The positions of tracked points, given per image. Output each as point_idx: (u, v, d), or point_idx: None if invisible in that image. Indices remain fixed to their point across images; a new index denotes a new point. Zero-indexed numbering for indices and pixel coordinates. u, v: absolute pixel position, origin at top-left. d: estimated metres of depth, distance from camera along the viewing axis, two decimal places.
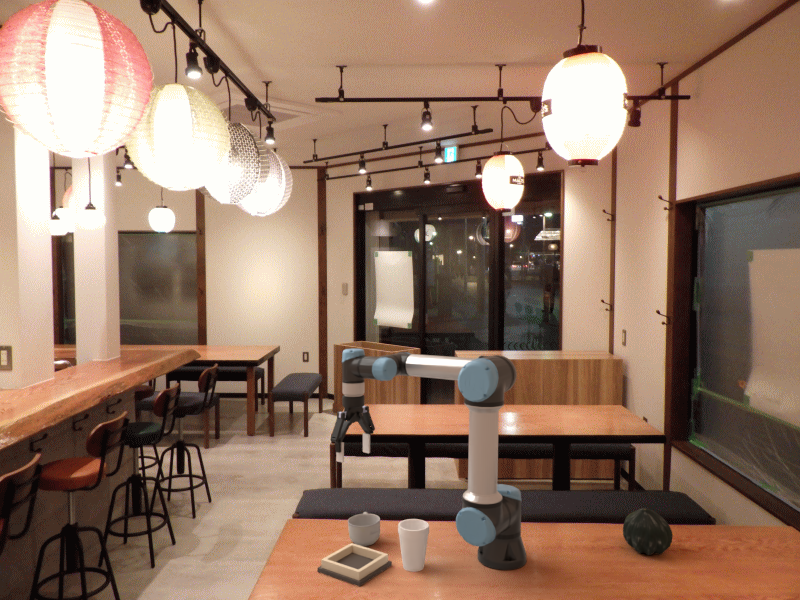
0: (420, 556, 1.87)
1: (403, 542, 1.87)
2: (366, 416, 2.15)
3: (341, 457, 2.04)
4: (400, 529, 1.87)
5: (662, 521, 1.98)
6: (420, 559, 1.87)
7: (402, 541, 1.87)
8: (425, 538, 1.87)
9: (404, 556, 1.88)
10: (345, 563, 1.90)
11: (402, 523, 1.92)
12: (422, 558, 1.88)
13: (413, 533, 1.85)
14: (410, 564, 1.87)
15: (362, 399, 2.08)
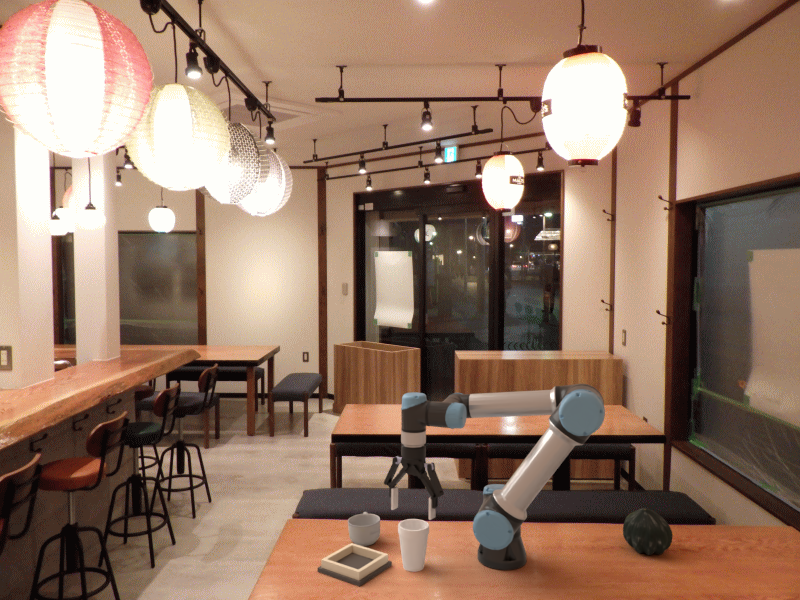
0: (420, 556, 1.87)
1: (403, 542, 1.87)
2: None
3: None
4: (400, 529, 1.87)
5: (662, 521, 1.98)
6: (420, 559, 1.87)
7: (402, 541, 1.87)
8: (425, 538, 1.87)
9: (404, 556, 1.88)
10: (345, 563, 1.90)
11: (402, 523, 1.92)
12: (422, 558, 1.88)
13: (413, 533, 1.85)
14: (410, 564, 1.87)
15: (407, 451, 1.86)
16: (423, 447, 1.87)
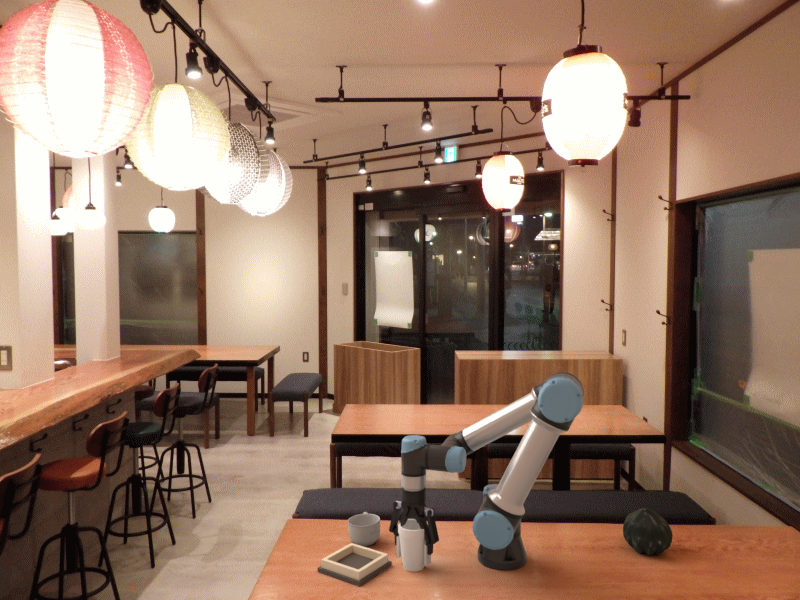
0: (420, 556, 1.87)
1: (403, 542, 1.87)
2: None
3: None
4: (400, 529, 1.87)
5: (662, 521, 1.98)
6: (420, 559, 1.87)
7: (402, 541, 1.87)
8: None
9: (404, 556, 1.88)
10: (345, 563, 1.90)
11: None
12: (422, 558, 1.88)
13: (413, 533, 1.85)
14: (410, 564, 1.87)
15: (407, 495, 1.86)
16: (423, 491, 1.87)
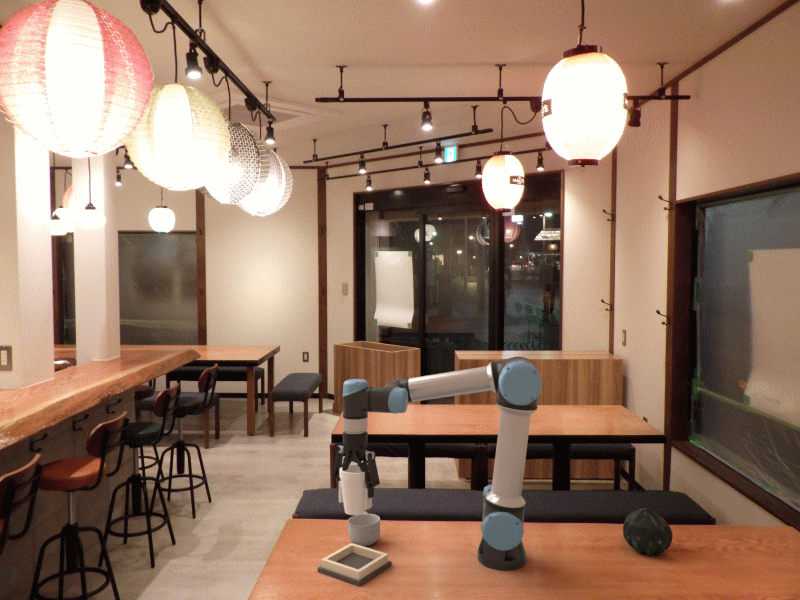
0: (361, 499, 1.85)
1: (344, 485, 1.85)
2: None
3: None
4: (341, 472, 1.86)
5: (662, 521, 1.98)
6: (360, 502, 1.85)
7: (343, 484, 1.86)
8: None
9: (345, 500, 1.86)
10: (345, 563, 1.90)
11: None
12: (363, 502, 1.86)
13: (353, 476, 1.83)
14: (351, 508, 1.85)
15: (348, 437, 1.84)
16: (364, 434, 1.86)
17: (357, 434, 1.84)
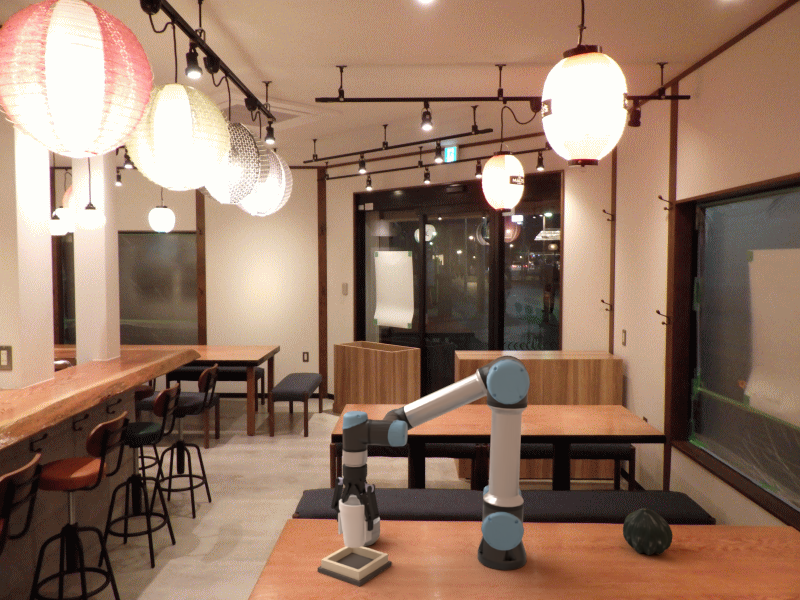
0: (360, 532, 1.85)
1: (343, 518, 1.86)
2: None
3: None
4: (340, 505, 1.86)
5: (662, 521, 1.98)
6: (360, 535, 1.86)
7: (342, 517, 1.86)
8: None
9: (344, 532, 1.86)
10: (345, 563, 1.90)
11: None
12: (362, 534, 1.86)
13: (353, 509, 1.84)
14: (350, 540, 1.85)
15: (348, 470, 1.85)
16: (364, 466, 1.86)
17: (357, 467, 1.85)
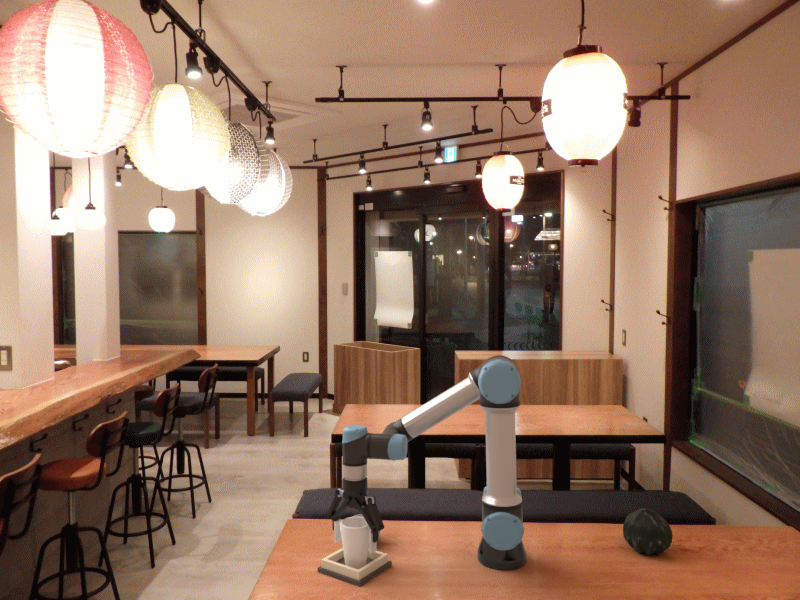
0: (361, 554, 1.86)
1: (344, 540, 1.86)
2: None
3: None
4: (341, 527, 1.86)
5: (662, 521, 1.98)
6: (361, 557, 1.86)
7: (343, 539, 1.86)
8: (367, 536, 1.86)
9: (345, 554, 1.86)
10: None
11: (345, 521, 1.91)
12: (364, 556, 1.86)
13: (354, 531, 1.84)
14: (351, 562, 1.85)
15: (348, 484, 1.85)
16: (364, 480, 1.86)
17: (357, 481, 1.85)
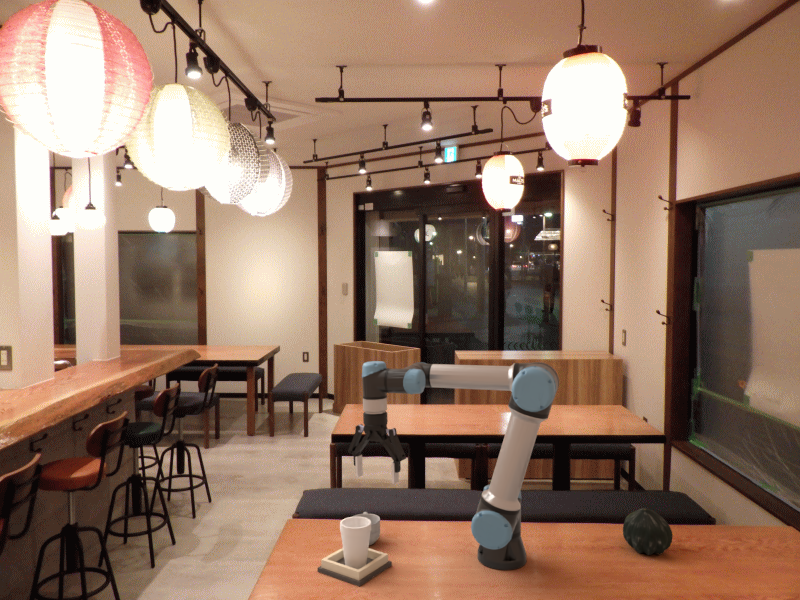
0: (361, 554, 1.86)
1: (344, 540, 1.86)
2: None
3: None
4: (341, 527, 1.86)
5: (662, 521, 1.98)
6: (361, 557, 1.86)
7: (343, 539, 1.86)
8: (366, 536, 1.86)
9: (345, 554, 1.86)
10: None
11: (345, 521, 1.91)
12: (364, 556, 1.86)
13: (354, 530, 1.84)
14: (351, 562, 1.85)
15: (369, 418, 1.90)
16: (384, 413, 1.92)
17: (378, 414, 1.90)
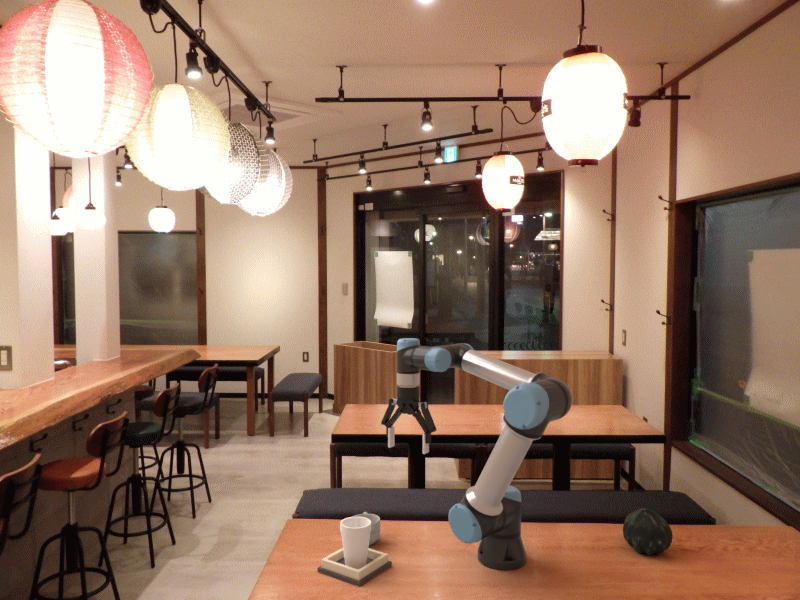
0: (361, 554, 1.86)
1: (344, 540, 1.86)
2: None
3: None
4: (341, 527, 1.86)
5: (662, 521, 1.98)
6: (361, 557, 1.86)
7: (343, 539, 1.86)
8: (367, 536, 1.86)
9: (345, 554, 1.86)
10: None
11: (345, 521, 1.91)
12: (364, 556, 1.86)
13: (354, 531, 1.84)
14: (351, 562, 1.85)
15: (402, 391, 2.01)
16: (417, 388, 2.02)
17: (411, 388, 2.01)
